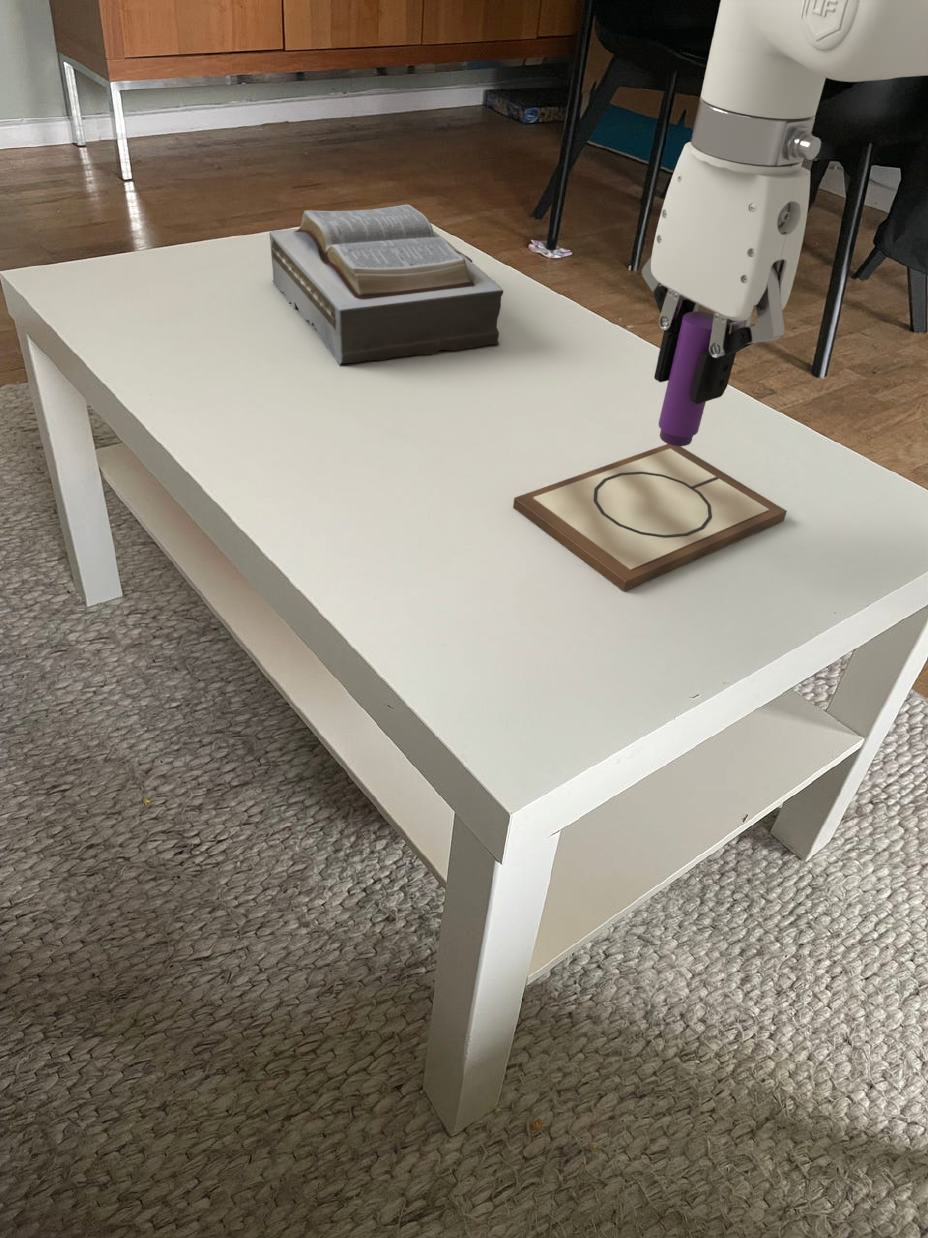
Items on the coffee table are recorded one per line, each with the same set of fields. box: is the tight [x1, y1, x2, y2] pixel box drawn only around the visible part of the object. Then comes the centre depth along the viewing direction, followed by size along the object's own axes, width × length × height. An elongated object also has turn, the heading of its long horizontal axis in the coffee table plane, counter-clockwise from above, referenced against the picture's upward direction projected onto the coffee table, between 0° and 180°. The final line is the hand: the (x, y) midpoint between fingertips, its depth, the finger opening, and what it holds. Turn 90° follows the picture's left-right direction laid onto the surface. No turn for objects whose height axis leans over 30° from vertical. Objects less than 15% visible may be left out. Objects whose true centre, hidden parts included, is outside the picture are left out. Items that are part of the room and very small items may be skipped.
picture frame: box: [512, 443, 788, 592], centre depth 88 cm, size 20×14×1 cm
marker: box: [658, 311, 714, 447], centre depth 78 cm, size 3×3×10 cm
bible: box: [268, 204, 504, 367], centre depth 115 cm, size 23×27×10 cm
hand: (688, 385), depth 78 cm, fingers closed on marker, 3 cm apart
